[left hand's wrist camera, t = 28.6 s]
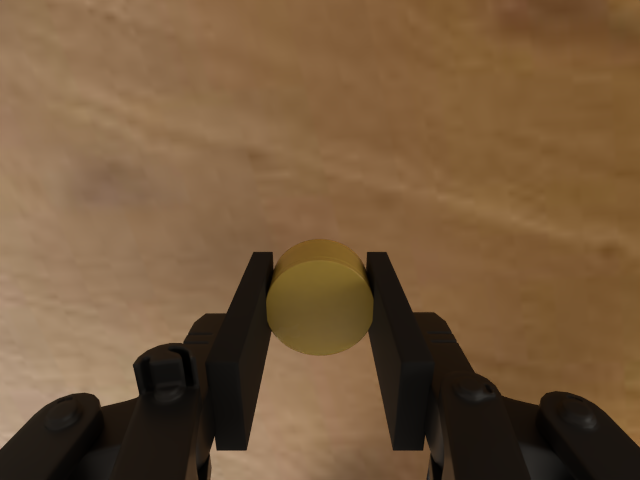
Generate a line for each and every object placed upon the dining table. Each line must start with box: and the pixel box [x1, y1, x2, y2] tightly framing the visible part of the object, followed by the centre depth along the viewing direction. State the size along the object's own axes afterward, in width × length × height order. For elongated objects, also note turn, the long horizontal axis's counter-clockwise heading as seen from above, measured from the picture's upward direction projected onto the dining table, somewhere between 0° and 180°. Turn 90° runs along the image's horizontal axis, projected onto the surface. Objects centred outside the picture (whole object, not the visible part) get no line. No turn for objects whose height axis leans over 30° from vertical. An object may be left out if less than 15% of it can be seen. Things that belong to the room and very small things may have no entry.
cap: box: [266, 239, 374, 356], centre depth 14 cm, size 4×4×2 cm
